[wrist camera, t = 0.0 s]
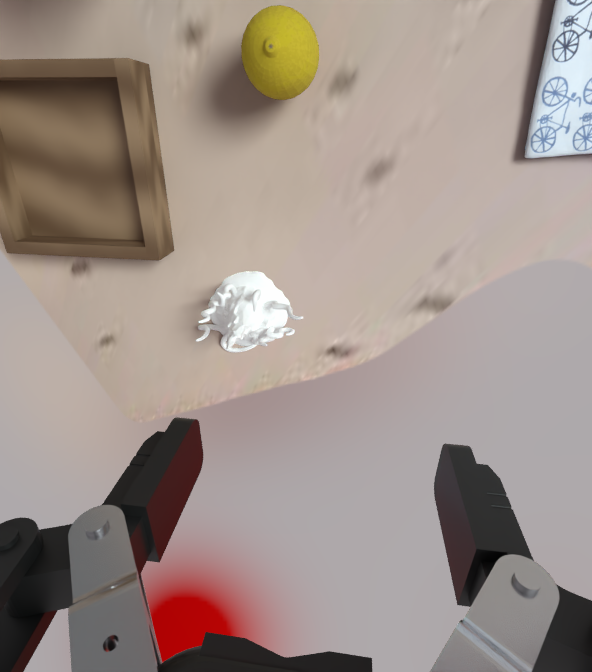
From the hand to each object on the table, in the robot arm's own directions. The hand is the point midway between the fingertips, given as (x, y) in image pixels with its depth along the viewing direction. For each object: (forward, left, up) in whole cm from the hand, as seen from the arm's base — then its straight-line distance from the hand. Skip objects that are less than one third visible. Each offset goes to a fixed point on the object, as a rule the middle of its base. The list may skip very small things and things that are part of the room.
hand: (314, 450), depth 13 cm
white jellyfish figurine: (+8, -9, -29) cm, 32 cm away
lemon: (-14, -5, -29) cm, 33 cm away
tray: (-6, -25, -29) cm, 39 cm away
